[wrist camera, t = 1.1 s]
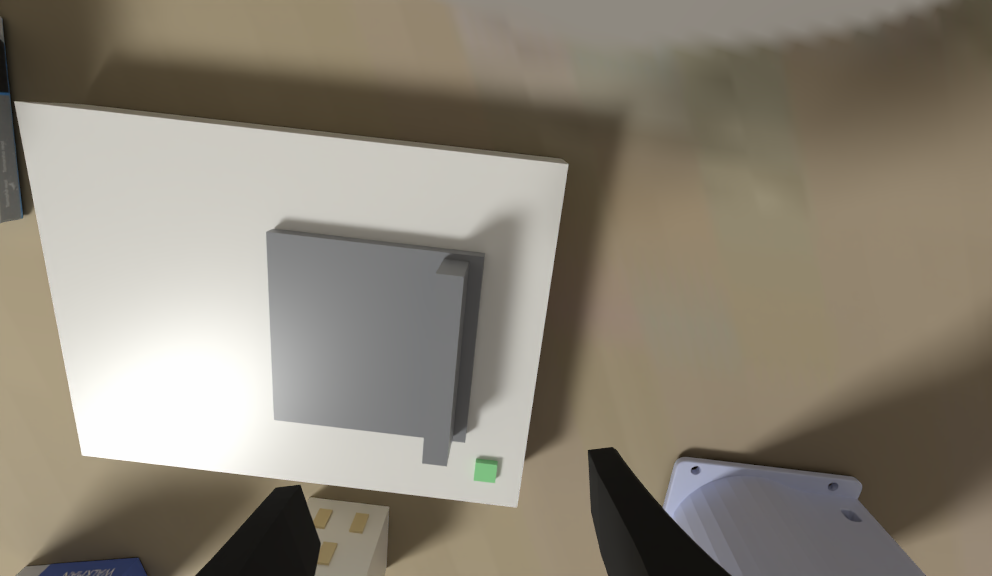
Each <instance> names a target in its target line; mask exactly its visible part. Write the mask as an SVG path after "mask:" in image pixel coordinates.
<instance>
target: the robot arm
mask: <svg viewBox="0 0 992 576" xmlns="http://www.w3.org/2000/svg"><path fill="white" fill-rule="evenodd" d="M588 460H589V480H590V500H591V513H592V517H593V522H594V526H595V531H596V535H597V539H598V544H599V548H600V552H601V555H602V558H603V561H604V564H605V567H606V570H607V573H608V576H926V575H925V574H924V573H923V572H922V571H921V569H920V568H919V567H918V566H917V565H916V564H915V563H914V562H913V561H912V559H911V558H910V557H909V556H908V555H907V554H906V553H905V552H904V551H903V549H902V548H901V547H900V546H899V545H898V544H897V543H896V542H895V540H894V539H893V538H892V537H891V536H890V535H889V534H888V533H887V532H886V530H885V529H884V528H883V527H882V526H881V525H880V524H879V523H878V521H877V520H876V519H875V518H874V517H873V516H872V515H871V514H870V513H869V511H868V510H867V509H866V508H865V507H864V506H863V505H862V504H861V502H860V501H859V500H858V498H859V495H860V493H861V490H862V484H861V483H860V482H859V481H858V480H857V479H856V478H855V477H852V476H843V475H835V474H827V473H818V472H810V471H801V470H793V469H785V468H776V467H768V466H759V465H751V464H743V463H734V462H726V461H717V460H709V459H700V458H692V457H681V458H679V459H677V460H676V462H675V464H674V467H673V471H672V475H671V479H670V482H669V486H668V490H667V494H666V497H665V501H664V505H663V508H662V506H661V505H660V504H659V503H658V502H657V501H656V500H655V499H654V498H653V496H652V495H651V494H650V493H649V492H648V490H647V489H646V488H645V487H644V486H643V484H642V483H641V482H640V481H639V479H638V478H637V477H636V476H635V474H634V473H633V472H632V471H631V469H630V468H629V467H628V465H627V464H626V463H625V461H624V460H623V459H622V457H621V456H620V454H619V453H618V451H617V450H616V449H614V448H613V447H610V448H601V449H593V450H588ZM694 466H698V468H697V469H694V470H692V468H693V467H694ZM830 483H833V484H831V485H829V484H830ZM828 485H829V486H828ZM320 546H321V542H320V539H319V537H318V534H317V531H316V528H315V525H314V522H313V519H312V517H311V514H310V511H309V508H308V505H307V502H306V500H305V497H304V494H303V491H302V488H301V485H294V486H286V487H278V488H275V489H274V490H273V492H272V493H271V494H270V495H269V496H268V497H267V498H266V499H265V500H264V501H263V502H262V504H261V505H260V506H259V507H258V508H257V509H256V510H255V511H254V512H253V514H252V515H251V516H250V517H249V518H248V519H247V520H246V521H245V523H244V524H243V525H242V526H241V527H240V528H239V529H238V530H237V532H236V533H235V534H234V535H233V536H232V537H231V538H230V539H229V540H228V541H227V542H226V544H225V545H224V546H223V547H222V548H221V549H220V550H219V551H218V552H217V553H216V554H215V556H214V557H213V558H212V559H211V560H210V561H209V562H208V563H207V564H206V565H205V566H204V567H203V568H202V569H201V570H200V571H199V572H198V573H197V574H196V575H195V576H315V572H316V568H317V562H318V557H319V552H320Z"/></svg>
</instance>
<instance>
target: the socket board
mask: <svg viewBox="0 0 992 576" xmlns="http://www.w3.org/2000/svg"><path fill="white" fill-rule="evenodd" d="M14 103H15V108H16V113H17V118H18V123H19V129H20V134H21V139H22V144H23V149H24V155H25V160H26V165H27V170H28V176H29V181H30V186H31V191H32V196H33V202H34V207H35V212H36V217H37V223H38V228H39V233H40V238H41V243H42V249H43V254H44V259H45V264H46V270H47V275H48V280H49V285H50V290H51V296H52V301H53V306H54V311H55V317H56V322H57V327H58V332H59V337H60V343H61V348H62V353H63V358H64V364H65V369H66V374H67V379H68V384H69V390H70V395H71V400H72V405H73V411H74V416H75V421H76V426H77V431H78V437H79V442H80V447H81V452H82V455H84V456H92V457H100V458H109V459H117V460H125V461H134V462H142V463H150V464H159V465H167V466H175V467H184V468H192V469H200V470H209V471H217V472H225V473H233V474H242V475H250V476H258V477H267V478H275V479H283V480H292V481H300V482H308V483H317V484H325V485H333V486H342V487H350V488H358V489H367V490H375V491H383V492H392V493H400V494H408V495H417V496H425V497H433V498H442V499H450V500H458V501H467V502H475V503H483V504H492V505H500V506H508V507H517V505H518V498H519V491H520V485H521V478H522V471H523V465H524V458H525V451H526V445H527V438H528V431H529V425H530V418H531V411H532V405H533V398H534V391H535V385H536V378H537V371H538V365H539V358H540V351H541V345H542V338H543V331H544V325H545V318H546V311H547V305H548V298H549V291H550V285H551V278H552V271H553V265H554V258H555V251H556V245H557V238H558V231H559V225H560V218H561V211H562V205H563V198H564V191H565V185H566V178H567V171H568V165H569V164H568V163H566V162H565V161H564V160H563V159H560V158H552V157H543V156H534V155H525V154H516V153H508V152H499V151H490V150H481V149H472V148H464V147H455V146H446V145H437V144H429V143H420V142H411V141H402V140H393V139H385V138H376V137H367V136H358V135H349V134H341V133H332V132H323V131H314V130H305V129H297V128H288V127H279V126H270V125H261V124H253V123H244V122H235V121H226V120H218V119H209V118H200V117H191V116H182V115H174V114H165V113H156V112H147V111H138V110H130V109H121V108H112V107H103V106H94V105H86V104H70V103H45V102H21V101H14ZM271 229H281V230H290V231H298V232H307V233H316V234H324V235H333V236H342V237H350V238H359V239H368V240H376V241H385V242H394V243H402V244H411V245H420V246H428V247H437V248H446V249H454V250H463V251H471V252H480V253H485V260H484V270H483V280H482V289H481V299H480V309H479V318H478V328H477V338H476V347H475V357H474V367H473V376H472V386H471V396H470V406H469V415H468V425H467V435H466V440H465V443H463V442H455V441H452V444H451V449H450V454H449V458H448V463H447V466H439V465H431V464H422V457H423V443H424V438H421V437H413V436H404V435H396V434H387V433H379V432H371V431H362V430H354V429H345V428H337V427H329V426H320V425H312V424H303V423H295V422H287V421H278V420H274V409H273V385H272V362H271V338H270V315H269V291H268V267H267V244H266V232H267V231H269V230H271Z"/></svg>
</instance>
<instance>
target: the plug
mask: <svg viewBox="0 0 992 576" xmlns="http://www.w3.org/2000/svg"><path fill="white" fill-rule="evenodd" d="M307 505H308V508H309V511H310V514H311V517H312V519H313V522H314V525H315V528H316V531H317V534H318V537H319V539H320V542H321V546H320V552H319V557H318V562H317V568H316V572H315V576H384V575H385V571H386V568H387V547H388V526H389V507H388V506H379V505H371V504H363V503H354V502H346V501H338V500H329V499H321V498H313V497H310V498H309V499H308V501H307Z"/></svg>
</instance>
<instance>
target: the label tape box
mask: <svg viewBox="0 0 992 576" xmlns="http://www.w3.org/2000/svg"><path fill="white" fill-rule="evenodd" d="M22 218H23V210H22V202H21V193H20V185H19V176H18V167H17V157H16V147H15V139H14V128H13V118H12V110H11V99H10V90H9V80H8V71H7V61H6V52H5V42H4V34H3V19H2V17H1V16H0V223H2V222H7V221H12V220H18V219H22Z"/></svg>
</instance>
